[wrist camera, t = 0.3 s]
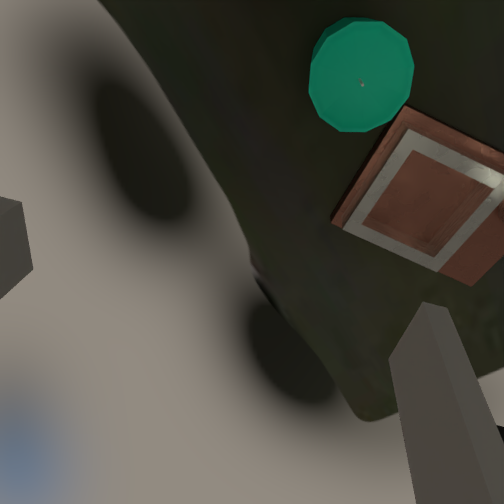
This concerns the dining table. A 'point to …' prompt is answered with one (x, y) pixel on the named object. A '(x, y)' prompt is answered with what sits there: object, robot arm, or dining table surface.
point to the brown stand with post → (429, 197)
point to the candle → (360, 74)
